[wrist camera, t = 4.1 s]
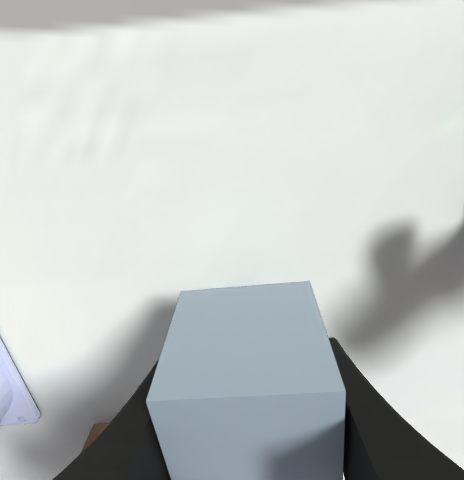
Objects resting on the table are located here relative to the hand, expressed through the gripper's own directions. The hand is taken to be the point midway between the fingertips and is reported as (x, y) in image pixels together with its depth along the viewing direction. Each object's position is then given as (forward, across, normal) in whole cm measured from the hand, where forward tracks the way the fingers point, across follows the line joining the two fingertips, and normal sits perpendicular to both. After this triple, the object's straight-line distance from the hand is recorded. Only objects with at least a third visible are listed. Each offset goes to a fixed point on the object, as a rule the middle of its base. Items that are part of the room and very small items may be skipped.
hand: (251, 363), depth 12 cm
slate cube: (+2, 0, 0) cm, 2 cm away
